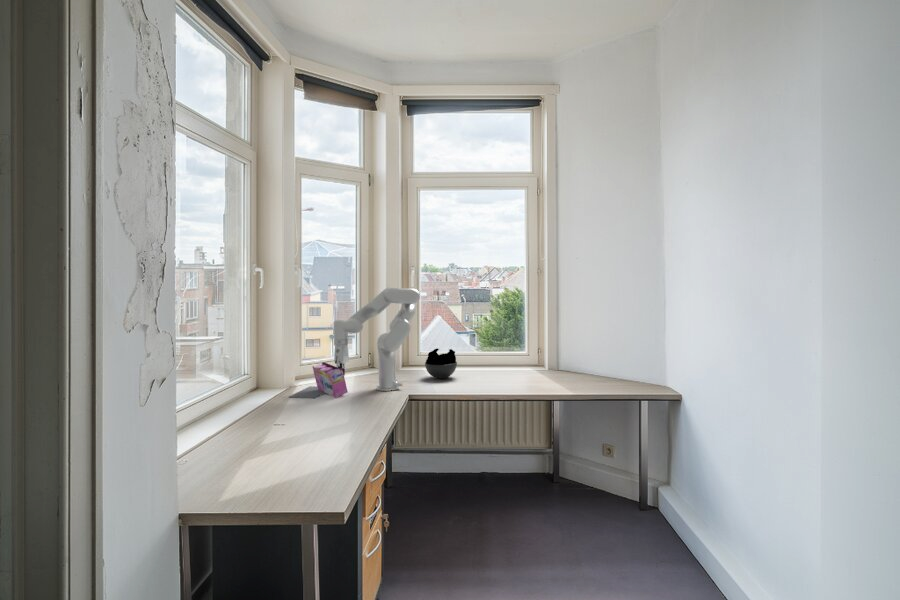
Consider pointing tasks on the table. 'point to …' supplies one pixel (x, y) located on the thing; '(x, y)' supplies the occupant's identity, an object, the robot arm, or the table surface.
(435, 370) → the bowl of black rocks
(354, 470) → the table surface
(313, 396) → the charcoal mat
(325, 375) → the pink multipack carton
